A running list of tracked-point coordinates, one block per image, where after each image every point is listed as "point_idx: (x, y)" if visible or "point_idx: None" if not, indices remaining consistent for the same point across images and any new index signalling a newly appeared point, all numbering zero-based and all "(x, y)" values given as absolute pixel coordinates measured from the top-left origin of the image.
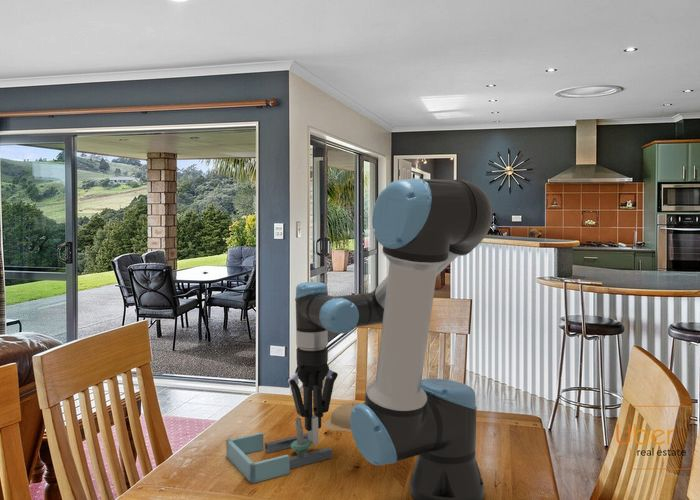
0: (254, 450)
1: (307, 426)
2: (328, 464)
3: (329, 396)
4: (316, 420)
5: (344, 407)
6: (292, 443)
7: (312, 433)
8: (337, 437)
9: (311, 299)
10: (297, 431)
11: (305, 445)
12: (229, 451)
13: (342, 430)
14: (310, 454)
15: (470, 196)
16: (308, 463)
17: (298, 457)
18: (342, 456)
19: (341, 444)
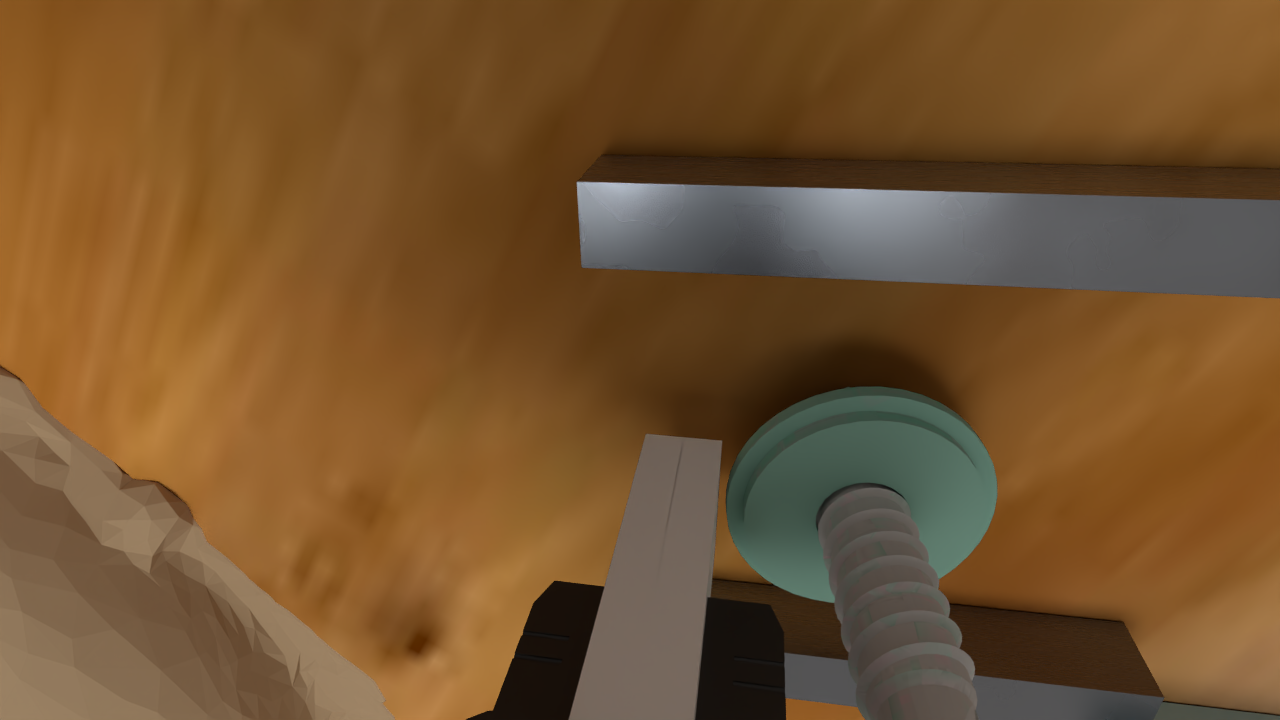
0: (1204, 717)
1: (779, 669)
2: (736, 4)
3: None
4: (611, 697)
5: None
6: (938, 572)
7: (711, 546)
8: (358, 525)
9: None
10: (960, 656)
11: (860, 434)
12: None
13: (273, 601)
14: (927, 210)
15: None
16: (953, 163)
17: (1139, 220)
18: (473, 123)
19: (373, 389)
